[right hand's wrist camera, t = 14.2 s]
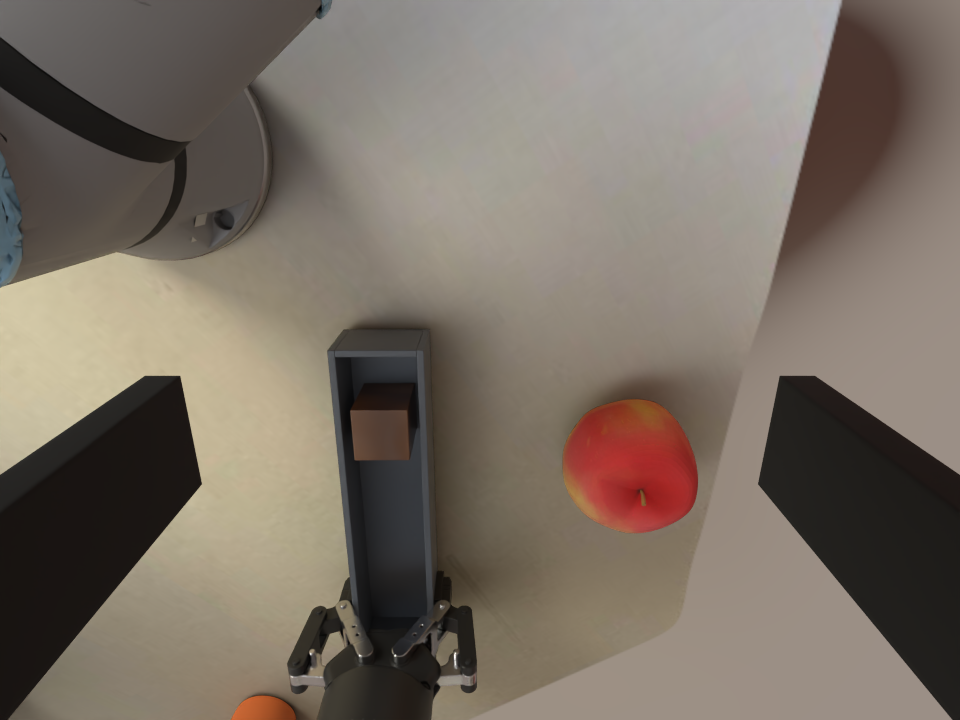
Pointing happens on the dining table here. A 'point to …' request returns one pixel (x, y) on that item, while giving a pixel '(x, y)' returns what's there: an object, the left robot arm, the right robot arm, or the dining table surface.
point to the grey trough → (387, 481)
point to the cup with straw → (264, 709)
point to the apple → (630, 466)
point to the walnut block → (384, 421)
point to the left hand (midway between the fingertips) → (400, 579)
